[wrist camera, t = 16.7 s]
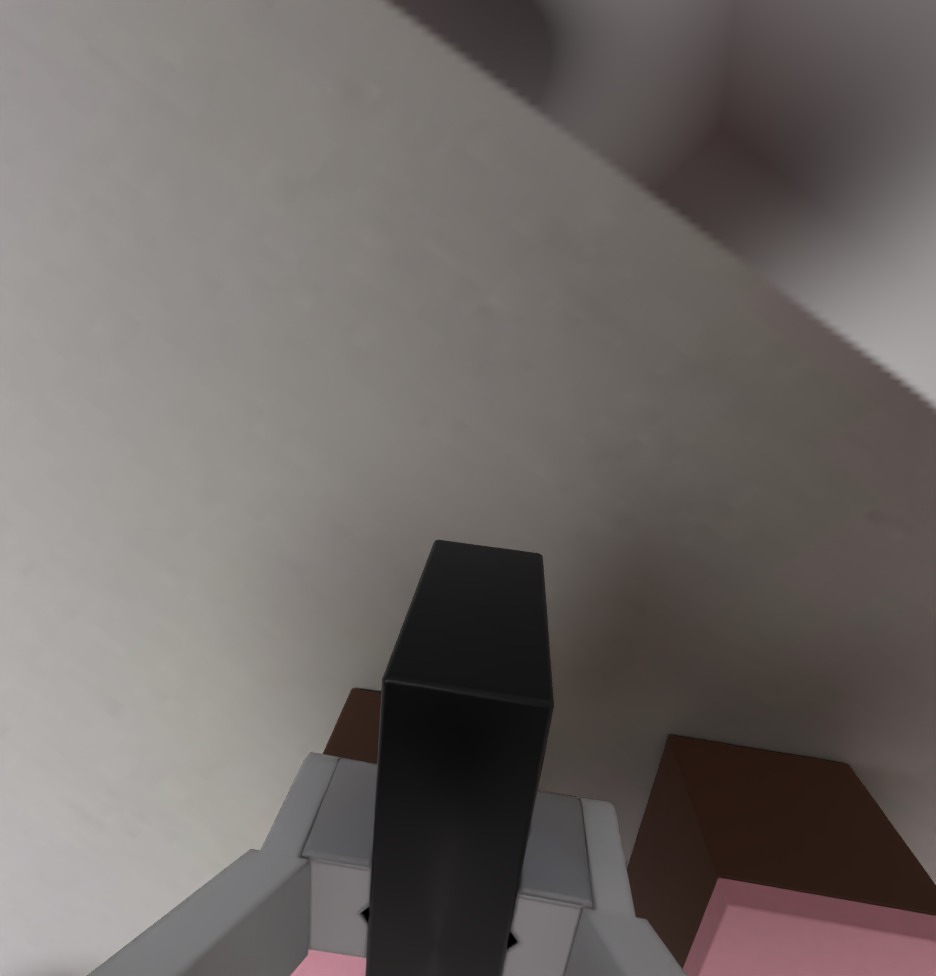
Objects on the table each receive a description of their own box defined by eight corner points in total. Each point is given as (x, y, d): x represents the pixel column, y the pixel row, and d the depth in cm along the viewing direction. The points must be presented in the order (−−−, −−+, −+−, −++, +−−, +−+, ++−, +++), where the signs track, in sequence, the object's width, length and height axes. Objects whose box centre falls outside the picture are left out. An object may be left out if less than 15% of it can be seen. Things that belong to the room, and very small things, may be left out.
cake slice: (351, 687, 19) (286, 832, 13) (464, 703, 18) (442, 858, 13) (345, 885, 22) (291, 1064, 17) (441, 901, 22) (416, 1087, 17)
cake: (668, 734, 18) (727, 905, 13) (849, 763, 18) (984, 950, 13) (608, 929, 21) (636, 1129, 16) (759, 957, 21) (838, 1169, 16)
